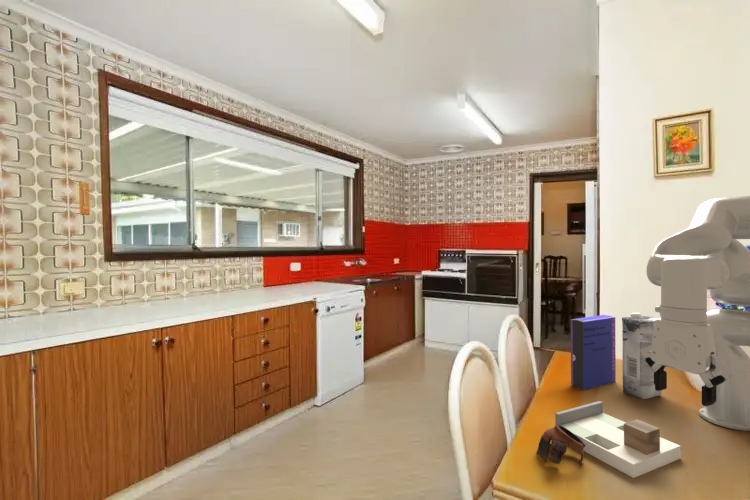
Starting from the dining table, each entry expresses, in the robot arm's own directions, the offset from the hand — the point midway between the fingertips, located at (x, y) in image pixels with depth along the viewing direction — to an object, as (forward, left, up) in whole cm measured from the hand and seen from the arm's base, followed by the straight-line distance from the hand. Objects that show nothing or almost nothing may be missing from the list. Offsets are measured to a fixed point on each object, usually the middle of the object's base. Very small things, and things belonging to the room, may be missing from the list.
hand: (683, 396), depth 79 cm
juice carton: (-40, -32, -18) cm, 54 cm away
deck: (0, -15, -18) cm, 23 cm away
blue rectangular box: (-34, -45, -18) cm, 59 cm away
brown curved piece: (+17, -17, -18) cm, 30 cm away
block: (0, -8, -15) cm, 17 cm away
